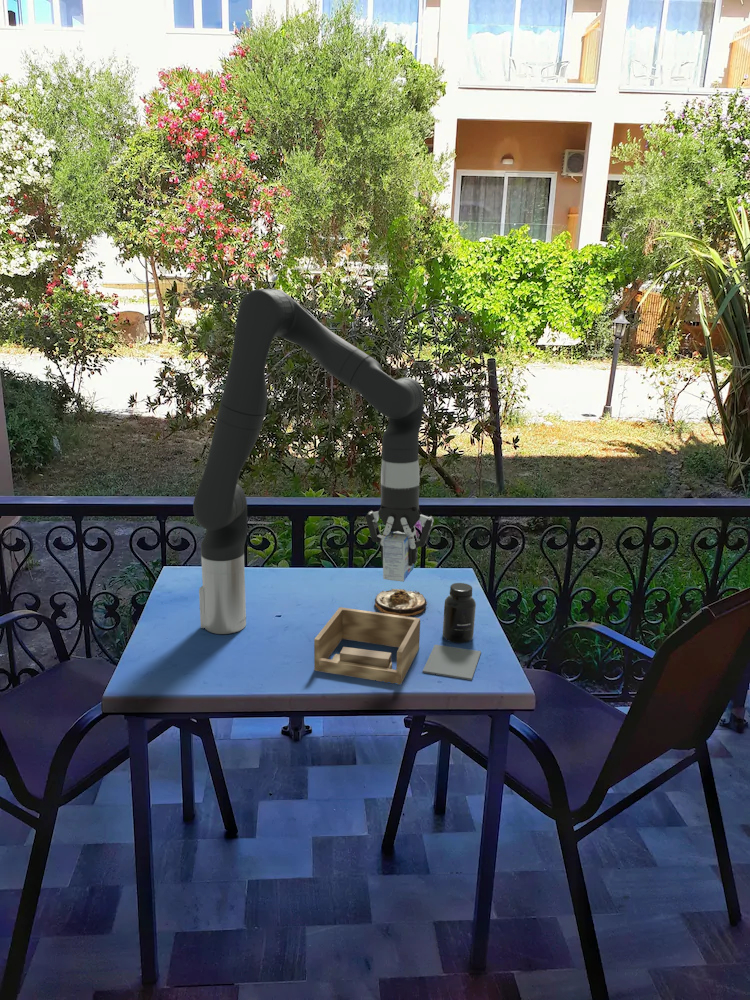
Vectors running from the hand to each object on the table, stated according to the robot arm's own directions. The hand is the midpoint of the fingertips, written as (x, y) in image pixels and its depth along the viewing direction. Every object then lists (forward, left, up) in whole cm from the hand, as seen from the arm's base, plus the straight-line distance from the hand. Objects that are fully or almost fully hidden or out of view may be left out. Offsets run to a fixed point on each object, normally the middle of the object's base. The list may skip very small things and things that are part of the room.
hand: (399, 563), depth 162 cm
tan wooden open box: (-5, -3, -21) cm, 22 cm away
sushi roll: (-5, +25, -22) cm, 34 cm away
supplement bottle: (+11, +13, -21) cm, 27 cm away
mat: (+12, +1, -21) cm, 24 cm away
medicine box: (0, 0, -3) cm, 3 cm away
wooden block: (-5, -8, -21) cm, 23 cm away
